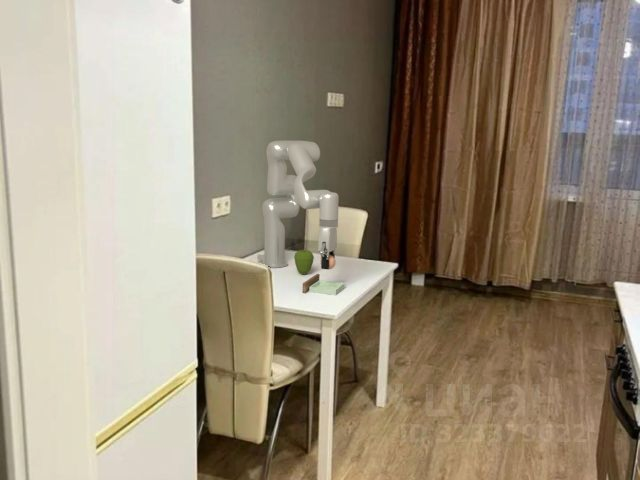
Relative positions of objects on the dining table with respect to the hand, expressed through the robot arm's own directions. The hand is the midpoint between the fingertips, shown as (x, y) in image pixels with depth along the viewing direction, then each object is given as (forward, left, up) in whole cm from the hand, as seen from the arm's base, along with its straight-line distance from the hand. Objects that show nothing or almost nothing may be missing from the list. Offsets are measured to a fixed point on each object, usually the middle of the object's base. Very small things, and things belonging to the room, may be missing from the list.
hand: (327, 266), depth 244 cm
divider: (-7, 0, -10) cm, 12 cm away
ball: (0, 0, -1) cm, 1 cm away
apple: (-18, +19, -10) cm, 28 cm away
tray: (0, 0, -10) cm, 10 cm away
